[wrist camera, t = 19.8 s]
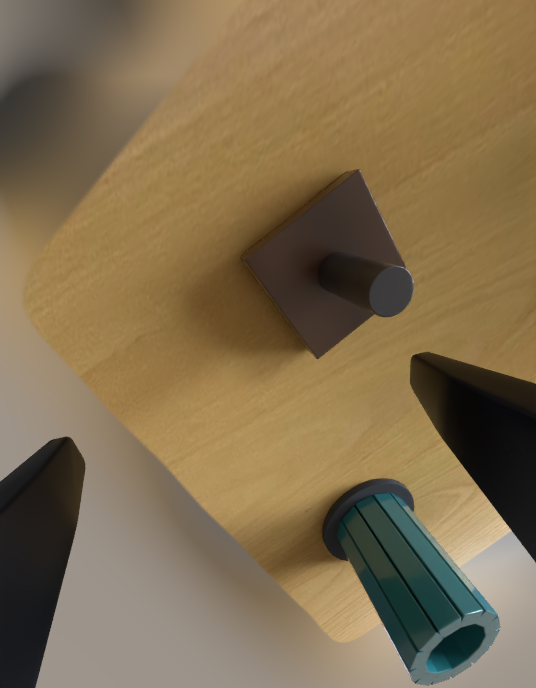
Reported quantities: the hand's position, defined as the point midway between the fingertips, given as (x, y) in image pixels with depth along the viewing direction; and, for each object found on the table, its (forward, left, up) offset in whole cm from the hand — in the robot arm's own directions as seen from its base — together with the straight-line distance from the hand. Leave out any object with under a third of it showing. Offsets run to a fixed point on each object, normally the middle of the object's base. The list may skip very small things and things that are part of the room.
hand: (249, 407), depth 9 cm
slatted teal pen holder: (+13, -22, -12) cm, 28 cm away
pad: (+13, -22, -13) cm, 28 cm away
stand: (+8, +1, -13) cm, 15 cm away
